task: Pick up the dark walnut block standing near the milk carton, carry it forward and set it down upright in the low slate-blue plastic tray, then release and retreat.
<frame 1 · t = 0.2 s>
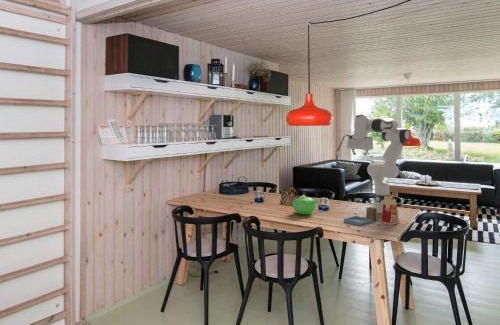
hand: (359, 155, 268), 47 cm above the table, fingers open, 8 cm apart
milk carton: (389, 222, 257), on the table
slate tray: (358, 222, 258), on the table
walnut block: (371, 220, 264), on the table
green teapot: (304, 214, 284), on the table
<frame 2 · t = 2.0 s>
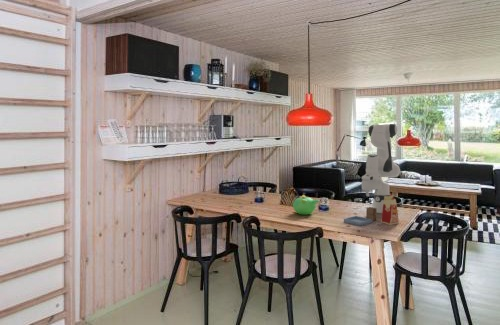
hand: (371, 195, 263), 18 cm above the table, fingers open, 8 cm apart
nothing on the table moved.
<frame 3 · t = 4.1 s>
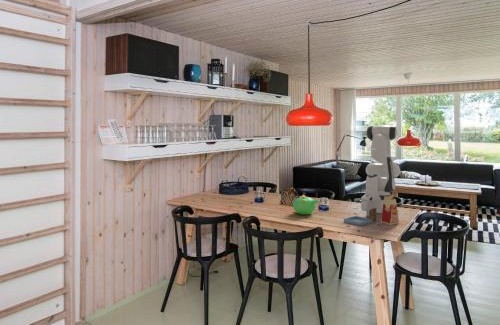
hand: (371, 215, 264), 4 cm above the table, fingers closed on walnut block, 5 cm apart
walnut block: (371, 220, 264), on the table, touching gripper
everything else where it was.
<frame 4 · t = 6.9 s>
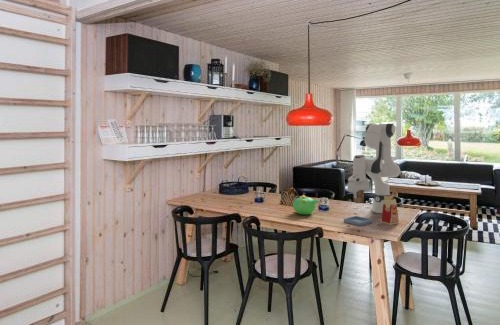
hand: (358, 197, 257), 18 cm above the table, fingers closed on walnut block, 5 cm apart
walnut block: (358, 202, 257), point 15 cm above the table, touching gripper
everything else where it was.
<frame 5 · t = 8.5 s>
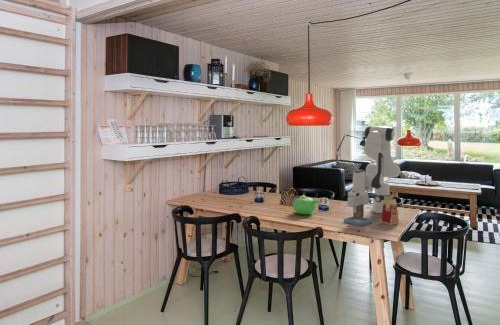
hand: (358, 211, 257), 8 cm above the table, fingers closed on walnut block, 5 cm apart
walnut block: (358, 216, 258), point 4 cm above the table, touching gripper
everything else where it was.
when the fingers open (6 cm above the table, at t = 9.8 s): walnut block drops 1 cm, resting on slate tray.
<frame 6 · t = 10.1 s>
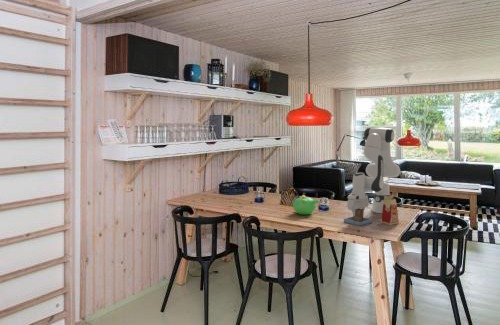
hand: (358, 214, 258), 6 cm above the table, fingers open, 7 cm apart
walnut block: (358, 221, 258), point 1 cm above the table, touching slate tray
everything else where it was.
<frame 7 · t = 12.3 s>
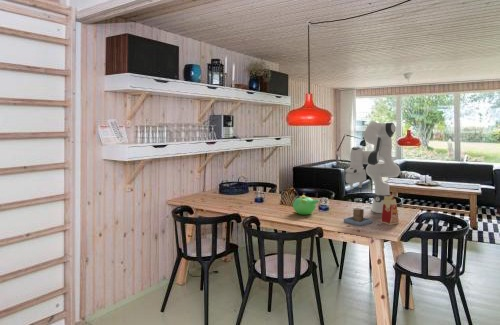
hand: (356, 188, 262), 24 cm above the table, fingers open, 8 cm apart
nothing on the table moved.
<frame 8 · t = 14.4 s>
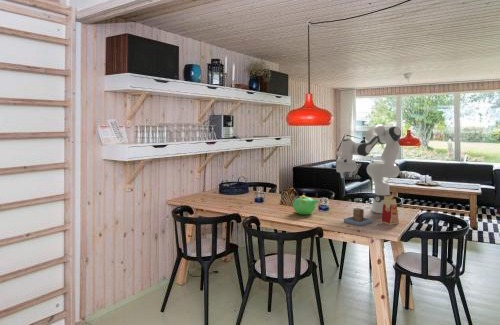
hand: (346, 177, 280), 29 cm above the table, fingers open, 8 cm apart
nothing on the table moved.
at the end: walnut block inside the target area on the slate tray (0.1 cm from its centre), point 0.6 cm above the slate tray's base; walnut block tilted 0°; the gripper is holding nothing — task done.
